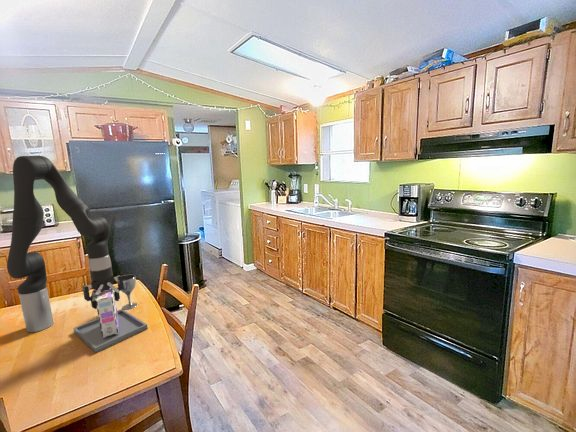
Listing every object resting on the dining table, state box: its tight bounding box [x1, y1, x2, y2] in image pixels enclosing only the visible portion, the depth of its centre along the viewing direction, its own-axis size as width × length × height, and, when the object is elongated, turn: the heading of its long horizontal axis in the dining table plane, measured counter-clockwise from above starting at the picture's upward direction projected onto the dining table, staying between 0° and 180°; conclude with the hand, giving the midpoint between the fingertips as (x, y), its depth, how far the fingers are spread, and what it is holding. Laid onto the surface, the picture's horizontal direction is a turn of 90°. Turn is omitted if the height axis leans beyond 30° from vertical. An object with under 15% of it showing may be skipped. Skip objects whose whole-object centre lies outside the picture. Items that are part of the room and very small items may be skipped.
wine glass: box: [116, 273, 138, 311], centre depth 144 cm, size 8×8×15 cm
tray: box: [72, 308, 148, 354], centre depth 124 cm, size 24×20×2 cm
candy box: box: [95, 288, 119, 338], centre depth 123 cm, size 14×6×16 cm, turn 29°
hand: (106, 304), depth 122 cm, fingers open, 7 cm apart
